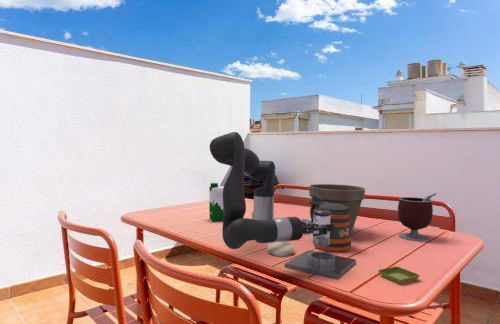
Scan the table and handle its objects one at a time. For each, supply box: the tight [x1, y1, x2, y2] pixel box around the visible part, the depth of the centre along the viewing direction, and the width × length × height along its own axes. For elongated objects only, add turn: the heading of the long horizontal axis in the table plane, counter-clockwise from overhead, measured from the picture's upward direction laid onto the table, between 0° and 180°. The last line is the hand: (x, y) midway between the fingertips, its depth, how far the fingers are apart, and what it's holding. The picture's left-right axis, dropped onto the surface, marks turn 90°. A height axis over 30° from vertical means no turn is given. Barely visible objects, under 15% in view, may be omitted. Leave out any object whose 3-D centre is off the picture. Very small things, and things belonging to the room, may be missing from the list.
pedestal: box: [266, 242, 295, 258], centre depth 130 cm, size 10×10×2 cm
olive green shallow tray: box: [377, 266, 421, 285], centre depth 106 cm, size 9×9×2 cm
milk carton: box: [208, 182, 224, 223], centre depth 185 cm, size 9×9×20 cm
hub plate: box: [284, 249, 357, 280], centre depth 117 cm, size 18×18×3 cm
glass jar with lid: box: [312, 210, 331, 246], centre depth 116 cm, size 6×6×11 cm
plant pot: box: [308, 183, 366, 236], centre depth 160 cm, size 25×25×22 cm
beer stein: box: [308, 194, 352, 253], centre depth 139 cm, size 19×15×20 cm
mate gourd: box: [397, 192, 437, 242], centre depth 153 cm, size 16×14×20 cm
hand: (327, 225), depth 117 cm, fingers closed on glass jar with lid, 5 cm apart
